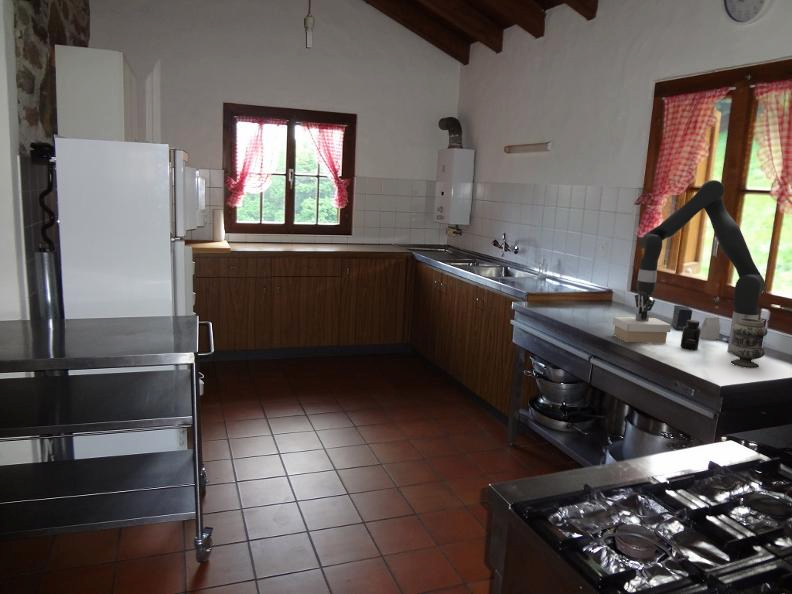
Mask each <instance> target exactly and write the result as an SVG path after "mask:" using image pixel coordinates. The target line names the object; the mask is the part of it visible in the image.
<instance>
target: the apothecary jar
mask: <svg viewBox="0 0 792 594" xmlns="http://www.w3.org/2000/svg"><path fill="white" fill-rule="evenodd" d="M733 330H734V332H735V339H734V344H732V345H731V346H730V347H729V350H730V352H731V353H730V354H732V355H733V356H735V357H736V358H735V359H732V360H731V361H730V364H731V363H732V364H731V365H733V364H734V366H736V365H737V366H736V367H739V366H740V368H744V367H746V369H759V368H760V365H759V363H756V362H754V361H753V360H758V359H760V358H763V357H764V356H765V350H764V348H763V341H764V340H763V339H764V337H765V336H767V334H768V328H766V326H765V322H764V320H761V319H758V320H757V319H751V318H739V321H738V323H736V324H735V325H734V326H733Z"/></svg>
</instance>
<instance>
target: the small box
mask: <svg viewBox="0 0 792 594" xmlns="http://www.w3.org/2000/svg"><path fill="white" fill-rule="evenodd" d="M692 315H693V309H691V308H689V307H688V306H685V305H684V306H683V305H677V304H675V305H674V307H673V315H672V320H671V324H670V325H671V328H673V329H674V330H675V331H683V328H684V327H685V326H687V325H686V323H687V320H692Z"/></svg>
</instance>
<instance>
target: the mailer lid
mask: <svg viewBox="0 0 792 594" xmlns="http://www.w3.org/2000/svg"><path fill="white" fill-rule="evenodd" d="M612 325H614V326H615V325H616V326H618V327H620V328H622V329H624V330H626V331H635V332H667V333H671V328H672V326H671V325H672V324H670V323H668V322H666V321H663V320H661V319H658V318H655V317H650V314H648V313H647V319H646V320H642V319H641V314H639V313H635V317H633V316H632V317H630V316H629V317H627V316H626V317H625V316H621V317H620V316H613V320H612Z"/></svg>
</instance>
